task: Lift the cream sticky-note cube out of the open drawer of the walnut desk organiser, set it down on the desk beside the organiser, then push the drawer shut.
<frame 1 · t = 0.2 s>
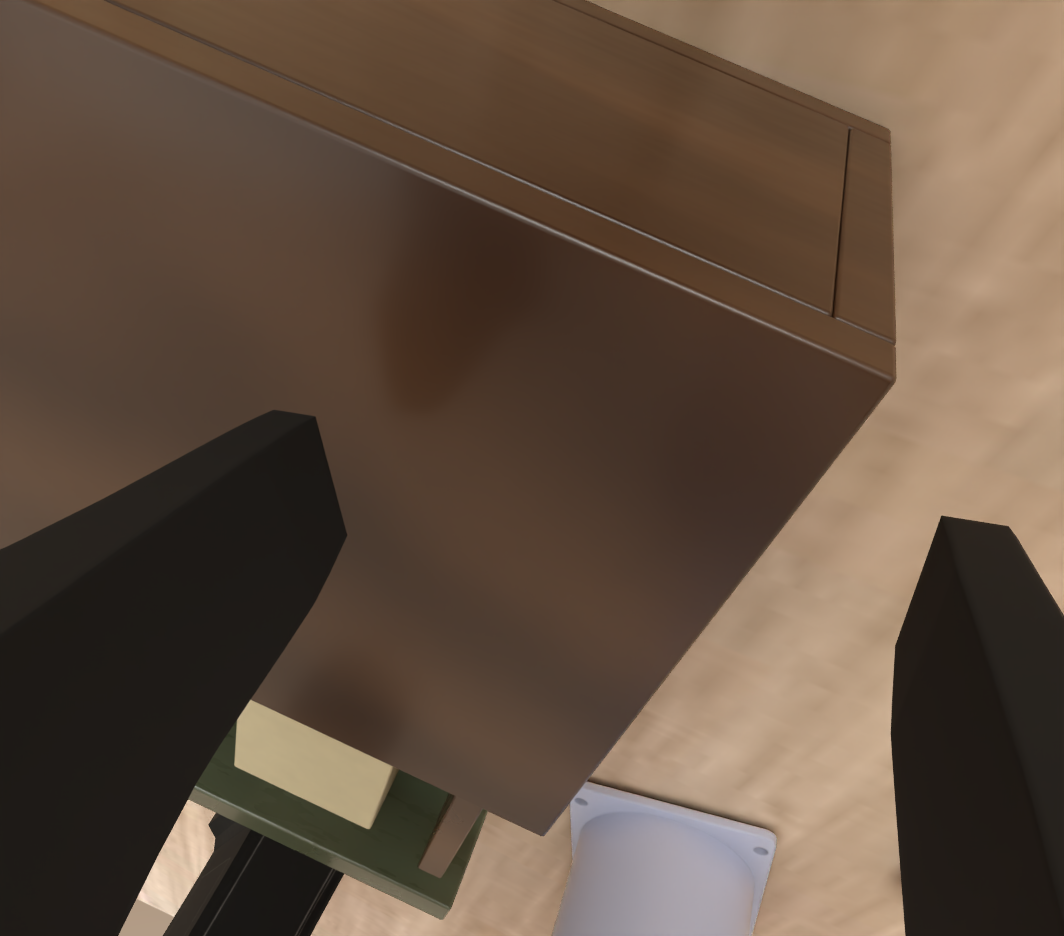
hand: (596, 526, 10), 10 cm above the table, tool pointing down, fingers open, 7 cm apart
portable radio: (311, 783, 42), on the table
drawer: (330, 691, 26), point 4 cm above the table, slide at 9.0 cm, touching note cube
note cube: (394, 616, 26), point 2 cm above the table, touching drawer
organiser: (473, 286, 20), on the table
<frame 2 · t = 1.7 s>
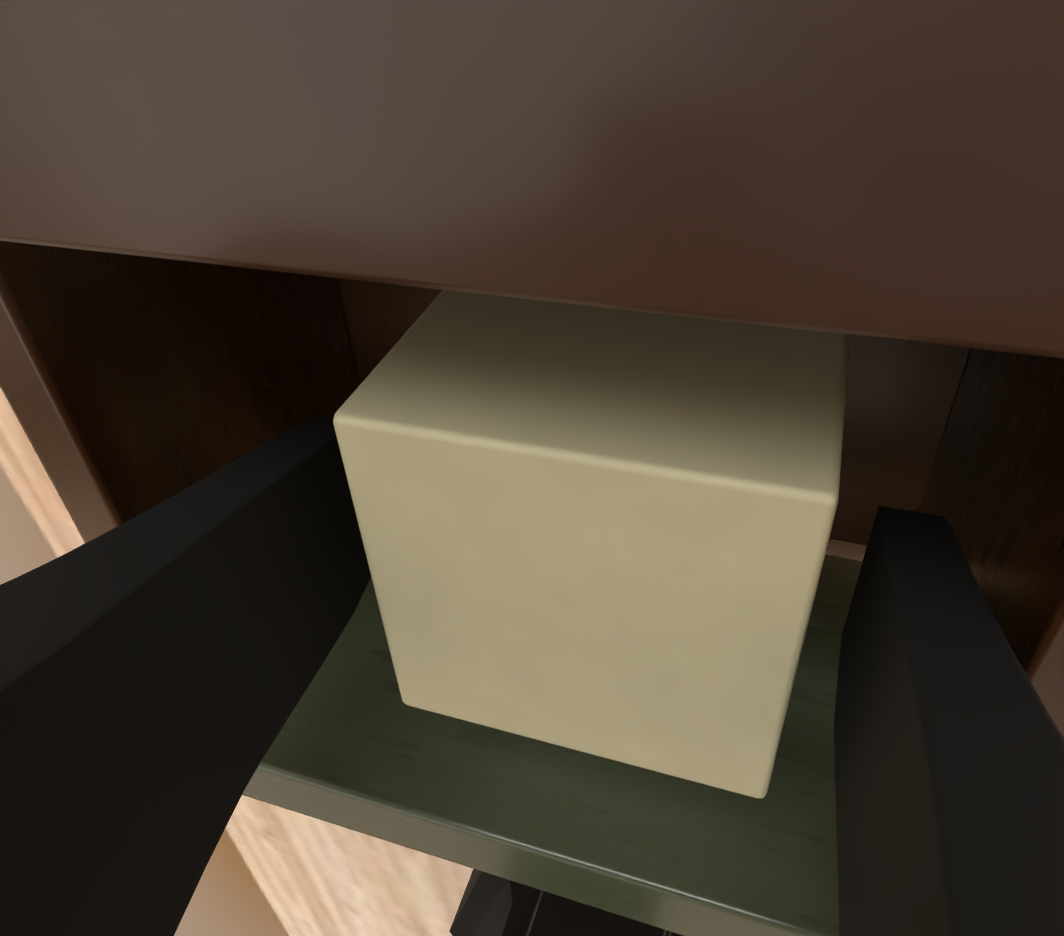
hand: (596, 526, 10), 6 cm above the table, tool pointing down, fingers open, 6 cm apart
portable radio: (585, 844, 27), on the table
drawer: (579, 531, 12), point 4 cm above the table, slide at 8.7 cm, touching gripper, note cube
note cube: (672, 350, 12), point 2 cm above the table, touching drawer
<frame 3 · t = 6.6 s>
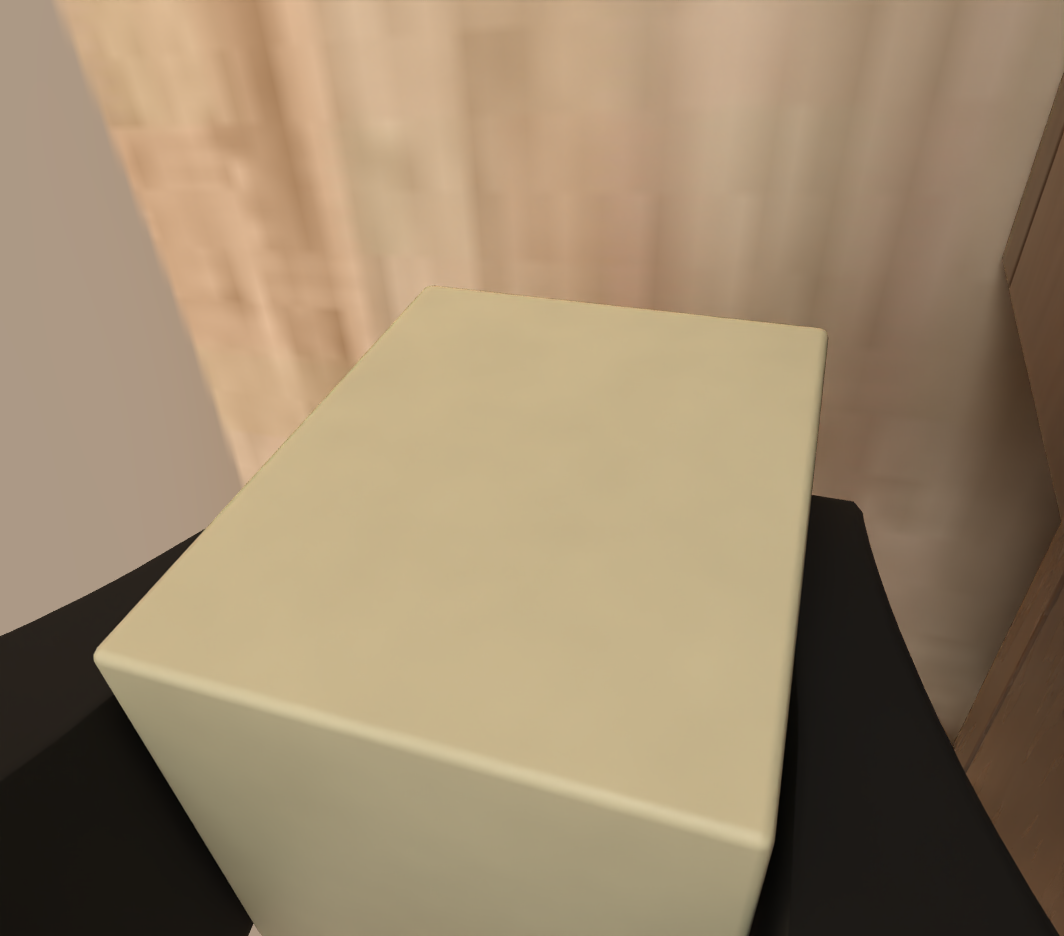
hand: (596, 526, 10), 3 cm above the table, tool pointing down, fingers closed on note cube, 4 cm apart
note cube: (612, 463, 10), point 2 cm above the table, touching gripper
when the fingers open (2 cm above the table, at t = 8.7 s): note cube moves 1 cm, on the table.
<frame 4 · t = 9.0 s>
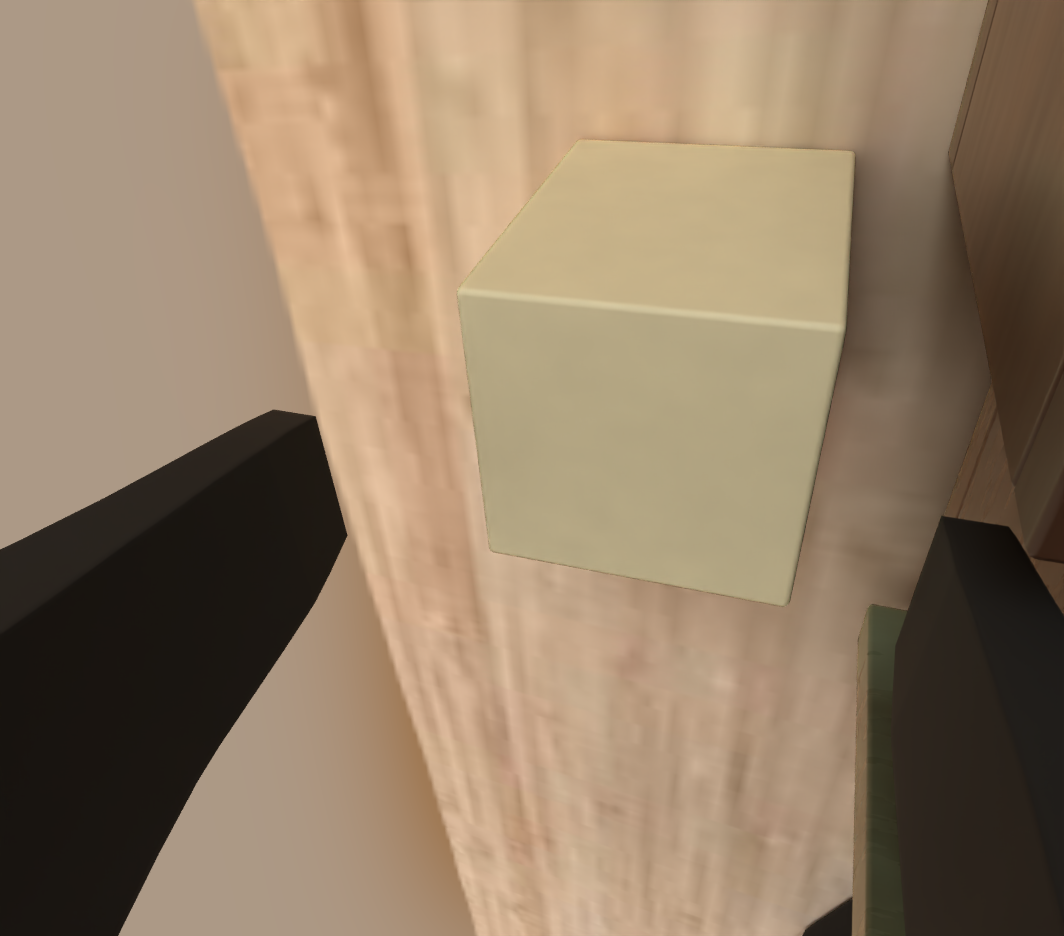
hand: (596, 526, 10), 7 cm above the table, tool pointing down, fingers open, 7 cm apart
note cube: (700, 270, 14), on the table
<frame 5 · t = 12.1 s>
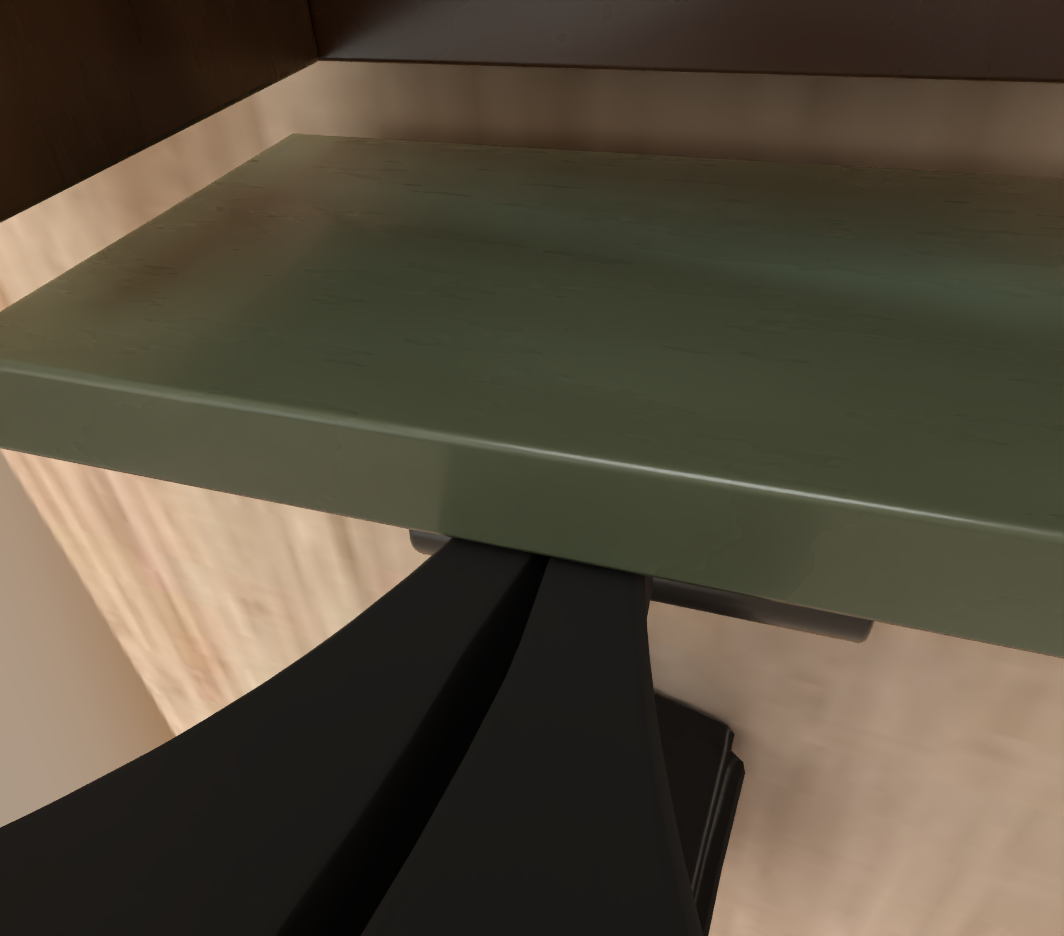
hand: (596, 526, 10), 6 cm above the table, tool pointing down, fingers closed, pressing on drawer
portable radio: (601, 749, 23), on the table
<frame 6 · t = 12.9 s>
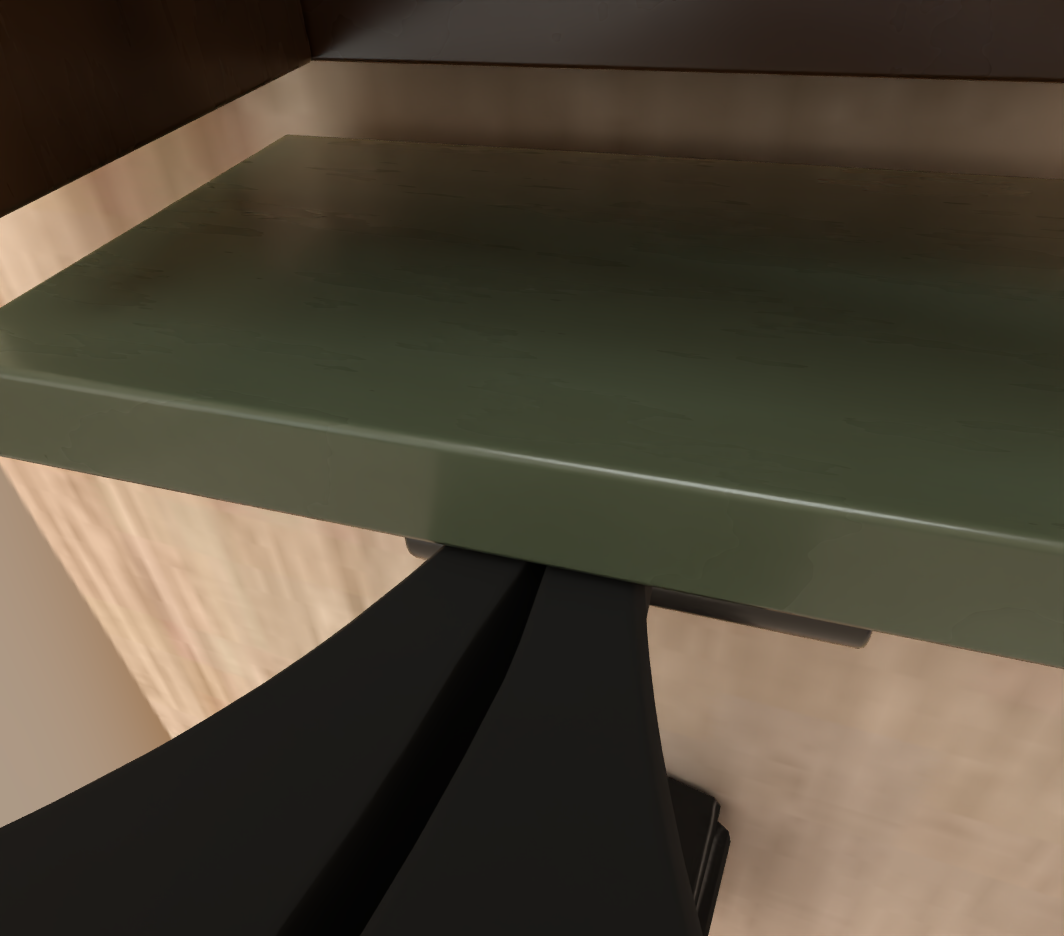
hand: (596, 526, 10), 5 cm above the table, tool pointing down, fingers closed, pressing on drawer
portable radio: (599, 811, 25), on the table
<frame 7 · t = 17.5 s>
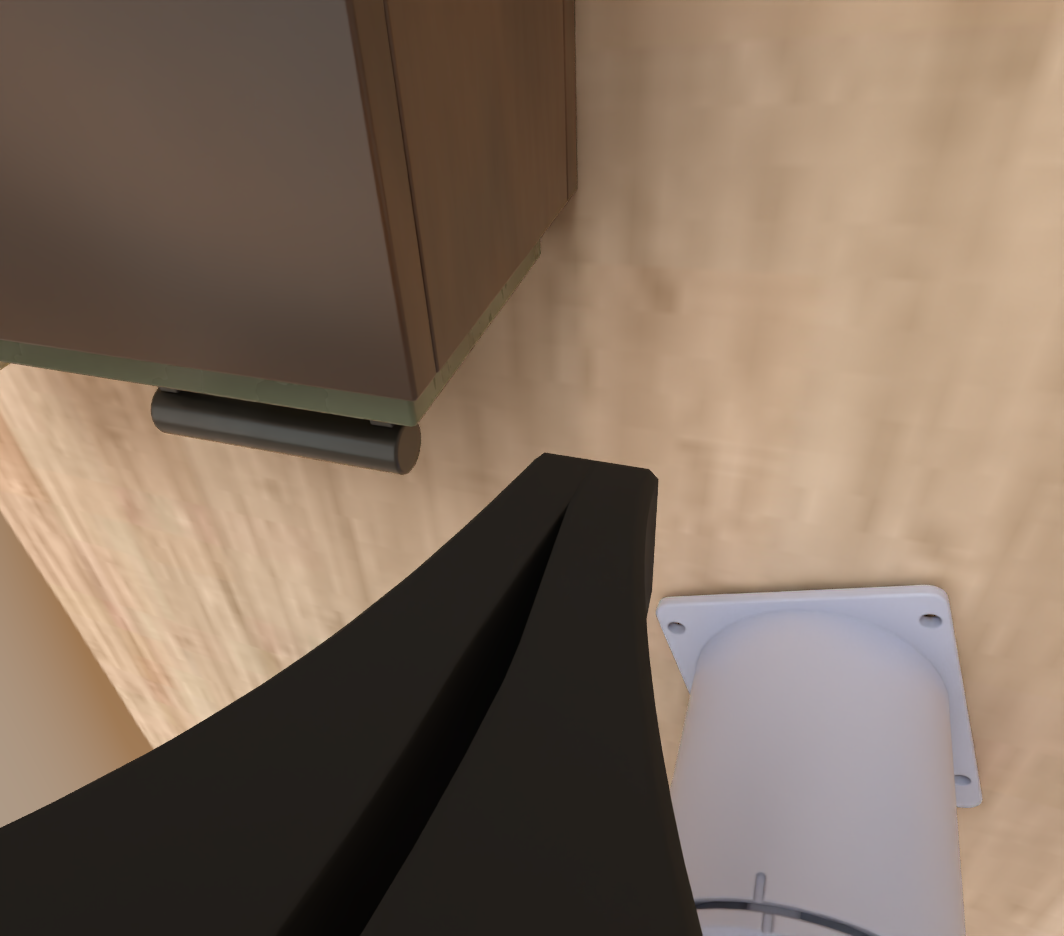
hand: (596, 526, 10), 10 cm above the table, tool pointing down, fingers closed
drawer: (157, 104, 15), point 4 cm above the table, slide at 0.0 cm, touching organiser
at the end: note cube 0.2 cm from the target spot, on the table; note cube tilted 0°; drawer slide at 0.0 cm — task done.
